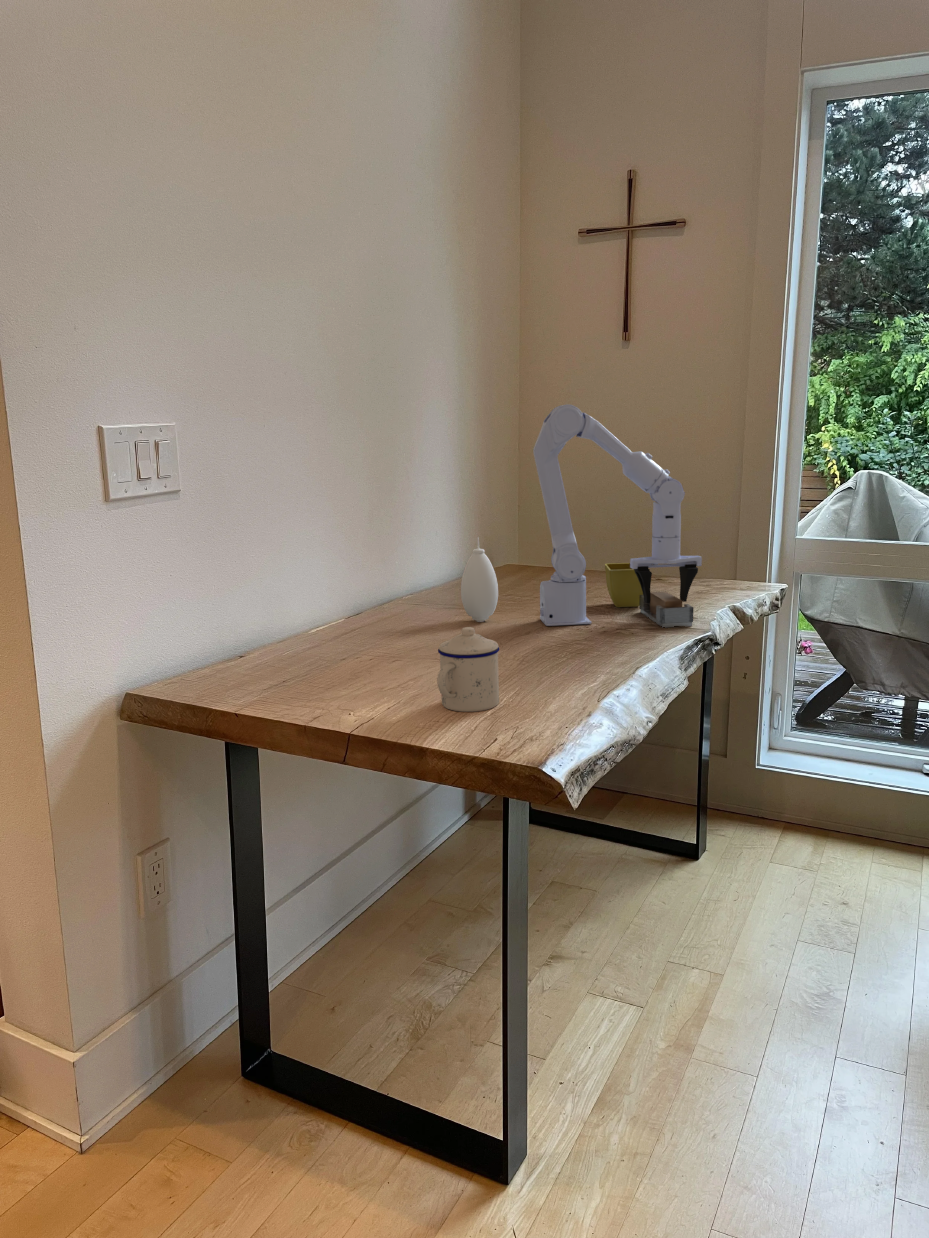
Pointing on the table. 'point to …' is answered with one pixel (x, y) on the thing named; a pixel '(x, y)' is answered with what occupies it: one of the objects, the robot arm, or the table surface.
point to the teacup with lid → (468, 672)
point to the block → (663, 600)
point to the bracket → (668, 614)
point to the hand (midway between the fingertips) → (665, 601)
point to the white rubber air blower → (479, 586)
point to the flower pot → (623, 585)
